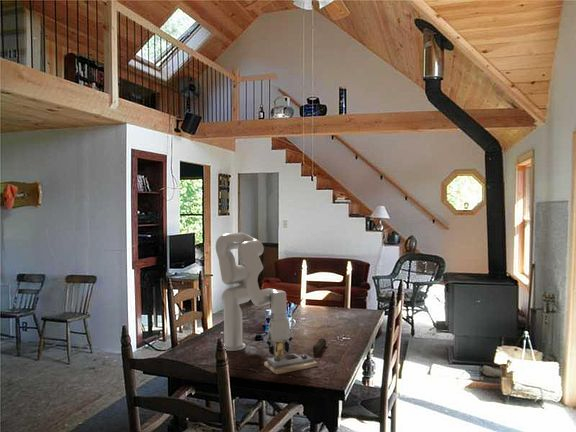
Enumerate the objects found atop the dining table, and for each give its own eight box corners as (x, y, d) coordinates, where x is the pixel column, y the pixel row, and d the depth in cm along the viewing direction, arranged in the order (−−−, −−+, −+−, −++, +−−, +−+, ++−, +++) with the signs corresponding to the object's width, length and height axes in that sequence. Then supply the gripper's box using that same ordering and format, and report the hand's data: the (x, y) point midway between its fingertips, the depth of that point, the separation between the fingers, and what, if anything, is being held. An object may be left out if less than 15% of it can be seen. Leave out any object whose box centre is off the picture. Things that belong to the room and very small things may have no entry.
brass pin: (273, 357, 208) (273, 341, 208) (281, 356, 210) (280, 339, 210) (277, 359, 204) (277, 343, 204) (284, 358, 206) (284, 341, 206)
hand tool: (318, 345, 227) (318, 336, 227) (326, 346, 226) (326, 337, 226) (308, 356, 209) (308, 347, 209) (316, 357, 208) (316, 348, 208)
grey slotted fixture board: (267, 363, 195) (267, 356, 195) (305, 356, 205) (305, 349, 205) (274, 368, 188) (274, 361, 188) (313, 361, 198) (313, 354, 198)
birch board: (264, 365, 197) (264, 361, 197) (303, 357, 207) (303, 354, 207) (276, 374, 186) (276, 371, 186) (317, 366, 196) (317, 362, 196)
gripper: (265, 320, 200) (266, 357, 200) (298, 315, 208) (298, 351, 208) (259, 316, 206) (259, 353, 206) (291, 312, 214) (291, 347, 214)
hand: (279, 352), depth 207 cm, fingers open, 7 cm apart
